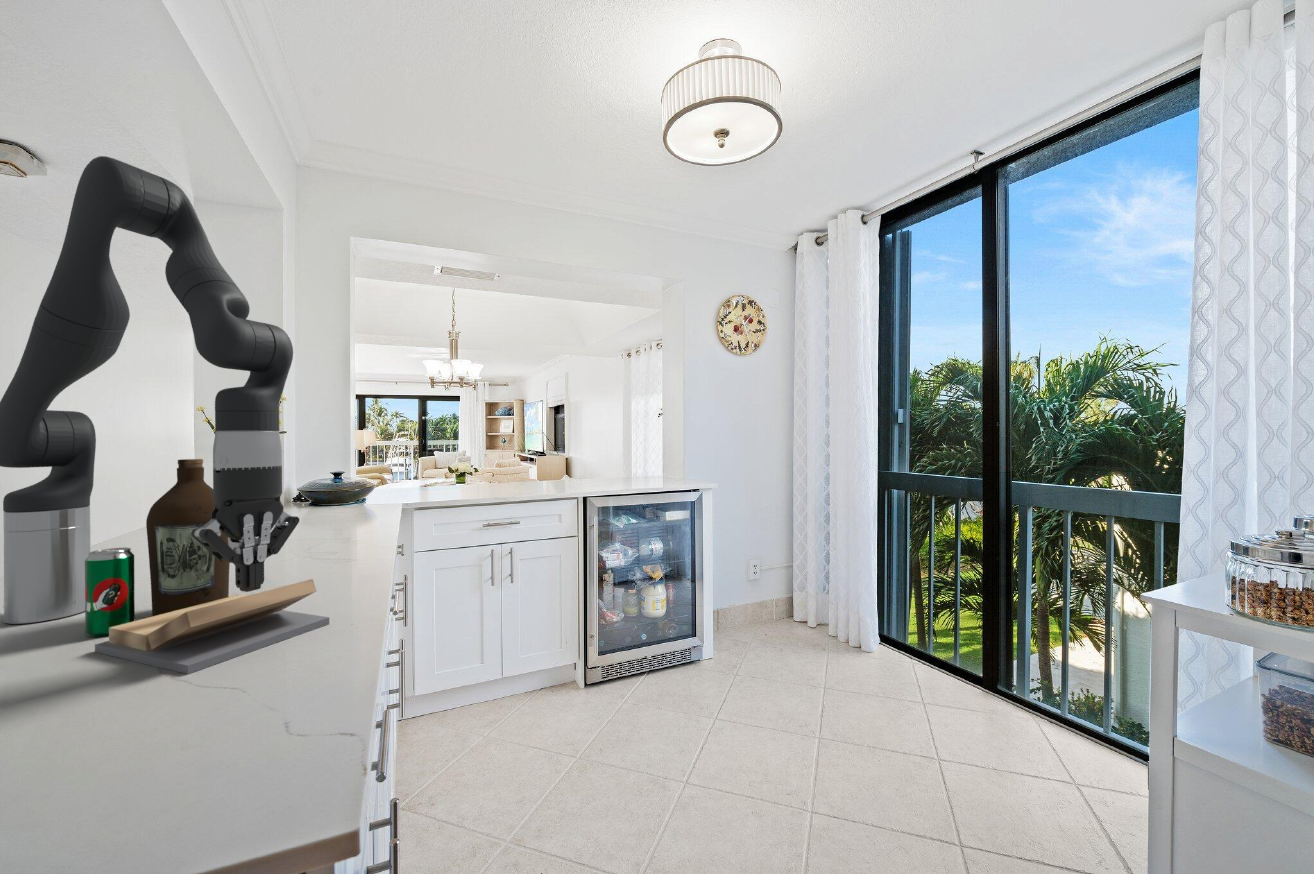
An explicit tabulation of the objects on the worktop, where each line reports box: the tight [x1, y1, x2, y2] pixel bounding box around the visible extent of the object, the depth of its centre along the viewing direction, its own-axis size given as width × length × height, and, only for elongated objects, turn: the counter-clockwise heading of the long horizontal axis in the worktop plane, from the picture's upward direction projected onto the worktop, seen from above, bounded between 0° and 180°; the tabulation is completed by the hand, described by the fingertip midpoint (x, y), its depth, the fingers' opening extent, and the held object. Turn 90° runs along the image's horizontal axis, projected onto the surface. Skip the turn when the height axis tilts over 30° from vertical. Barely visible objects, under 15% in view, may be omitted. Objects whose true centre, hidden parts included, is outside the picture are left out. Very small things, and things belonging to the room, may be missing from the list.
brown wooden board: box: [148, 578, 317, 650], centre depth 73 cm, size 9×16×2 cm, turn 159°
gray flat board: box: [94, 609, 330, 675], centre depth 75 cm, size 20×18×1 cm
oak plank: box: [108, 593, 250, 651], centre depth 76 cm, size 8×16×2 cm, turn 159°
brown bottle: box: [145, 458, 231, 617], centre depth 87 cm, size 11×11×25 cm
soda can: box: [84, 547, 136, 638], centre depth 77 cm, size 5×5×12 cm
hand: (249, 589), depth 72 cm, fingers closed
